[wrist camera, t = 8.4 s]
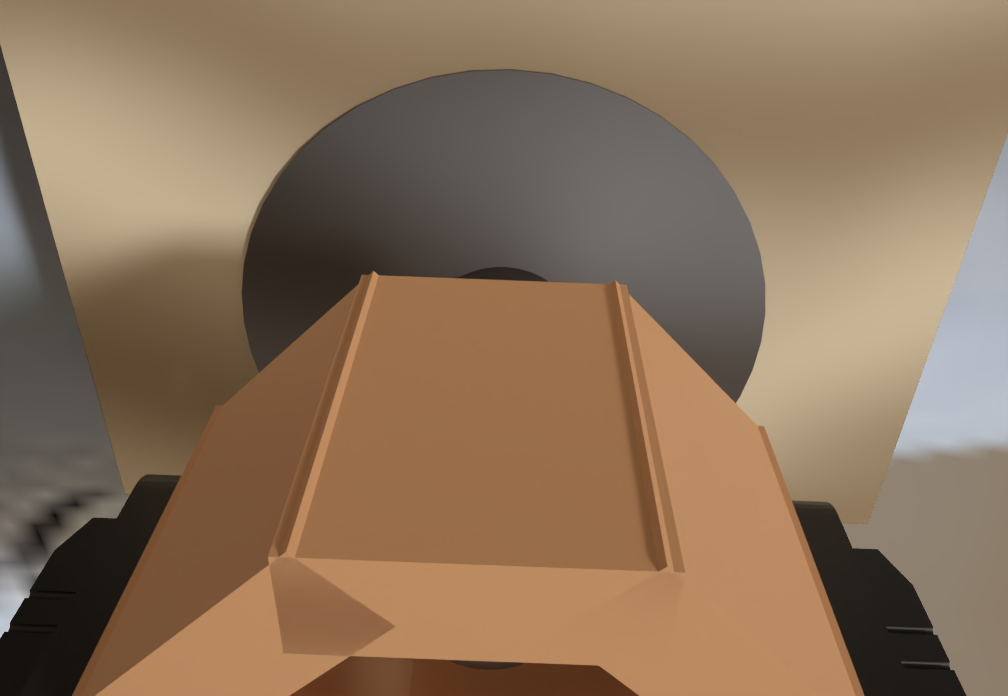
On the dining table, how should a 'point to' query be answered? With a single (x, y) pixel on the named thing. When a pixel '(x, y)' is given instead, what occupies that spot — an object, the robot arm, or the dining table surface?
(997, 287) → the dining table surface
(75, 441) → the dining table surface
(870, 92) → the post board
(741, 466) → the ring
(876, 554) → the robot arm
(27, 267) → the dining table surface
